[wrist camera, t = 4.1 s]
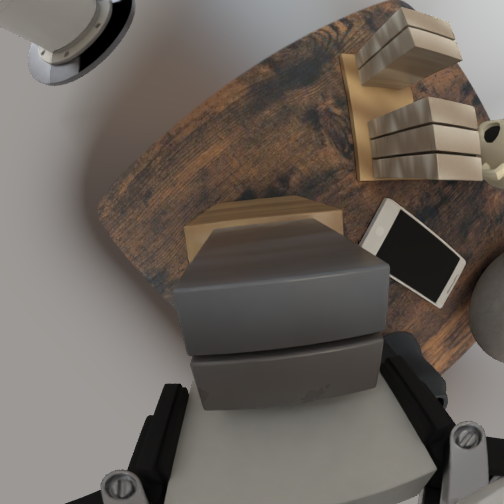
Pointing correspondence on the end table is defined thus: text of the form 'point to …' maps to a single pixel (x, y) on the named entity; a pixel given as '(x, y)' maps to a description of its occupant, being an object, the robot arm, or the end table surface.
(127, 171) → the end table surface
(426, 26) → the grey-brown wooden block stand
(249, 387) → the wooden stand
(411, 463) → the grey flat block
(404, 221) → the smartphone
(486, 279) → the grey oval stone
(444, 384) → the mug
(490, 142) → the character mug
